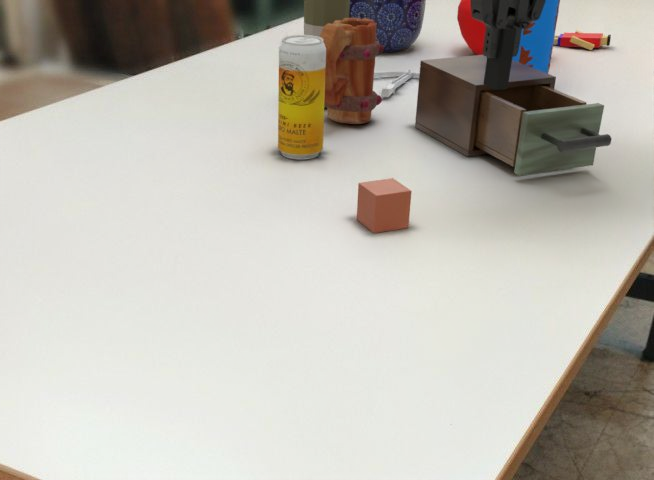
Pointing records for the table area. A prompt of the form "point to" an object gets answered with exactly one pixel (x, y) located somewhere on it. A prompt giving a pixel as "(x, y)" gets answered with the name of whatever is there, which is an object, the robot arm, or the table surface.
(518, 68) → the cabinet
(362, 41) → the mug
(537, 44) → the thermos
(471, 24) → the vase
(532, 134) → the drawer
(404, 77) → the crossbow
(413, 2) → the planter
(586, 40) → the toy figure
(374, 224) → the block
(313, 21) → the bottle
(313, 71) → the beer can
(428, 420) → the table surface
